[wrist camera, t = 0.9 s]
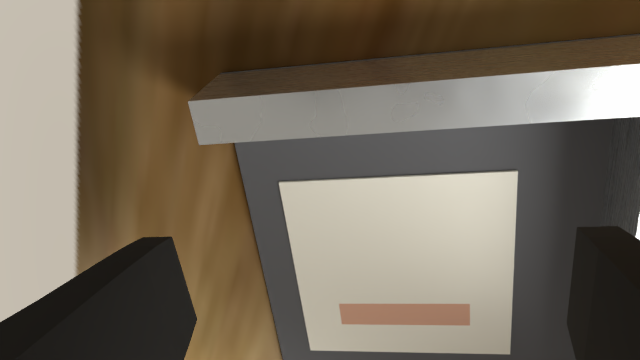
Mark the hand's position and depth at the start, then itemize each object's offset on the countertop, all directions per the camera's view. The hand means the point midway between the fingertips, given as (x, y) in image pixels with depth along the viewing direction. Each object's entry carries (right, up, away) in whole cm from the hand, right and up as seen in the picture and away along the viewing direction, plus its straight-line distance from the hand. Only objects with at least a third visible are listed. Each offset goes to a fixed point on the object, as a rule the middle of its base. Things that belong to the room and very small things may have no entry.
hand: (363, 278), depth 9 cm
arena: (+4, -1, +12) cm, 13 cm away
